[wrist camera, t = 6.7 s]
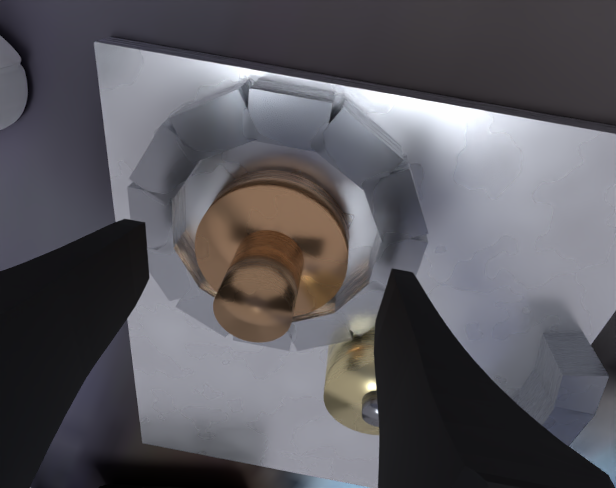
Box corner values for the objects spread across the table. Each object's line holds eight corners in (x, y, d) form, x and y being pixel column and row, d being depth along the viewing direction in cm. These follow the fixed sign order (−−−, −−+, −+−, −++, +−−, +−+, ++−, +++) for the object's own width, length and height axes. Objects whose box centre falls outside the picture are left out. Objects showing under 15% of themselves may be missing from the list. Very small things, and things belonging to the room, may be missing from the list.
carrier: (705, 141, 13) (824, 204, 9) (469, 488, 24) (486, 573, 20) (111, 36, 13) (23, 61, 10) (150, 426, 24) (115, 500, 21)
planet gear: (365, 188, 14) (365, 260, 10) (332, 304, 17) (323, 390, 13) (212, 155, 14) (162, 215, 10) (204, 276, 16) (163, 355, 13)
